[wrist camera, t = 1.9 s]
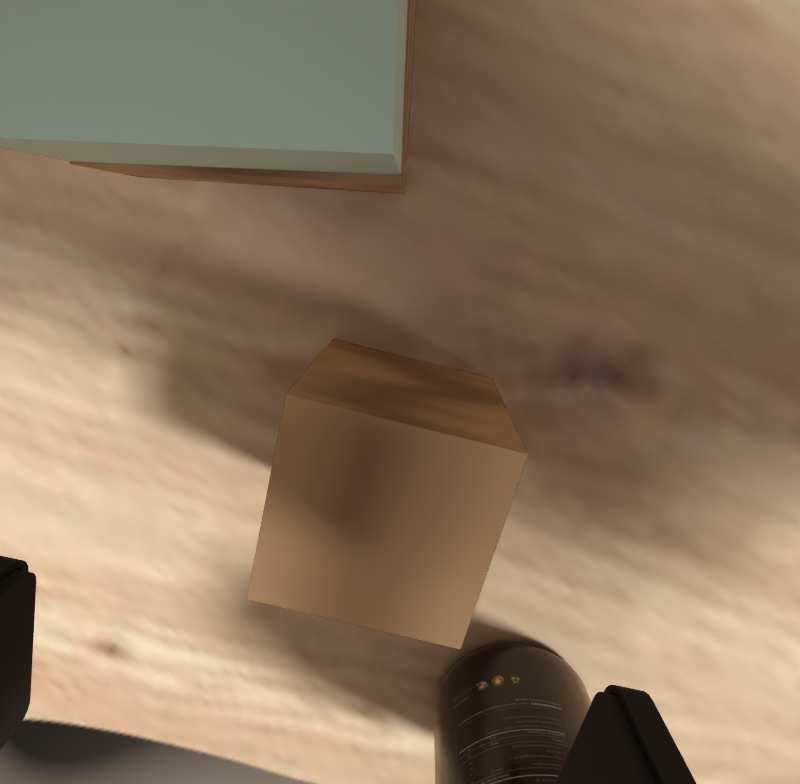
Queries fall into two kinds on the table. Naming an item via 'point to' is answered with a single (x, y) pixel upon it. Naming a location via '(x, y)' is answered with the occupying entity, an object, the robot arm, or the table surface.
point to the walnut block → (386, 494)
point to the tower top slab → (206, 82)
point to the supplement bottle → (507, 717)
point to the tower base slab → (290, 177)
